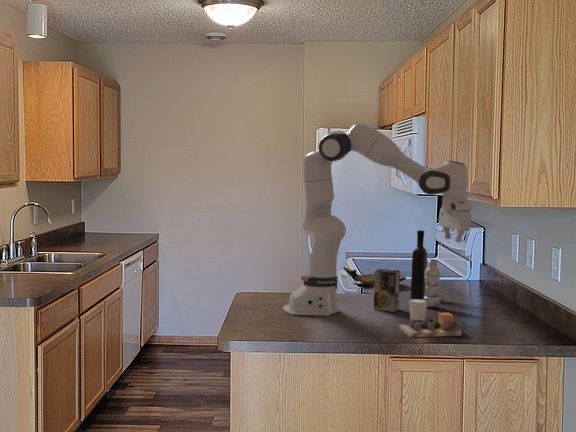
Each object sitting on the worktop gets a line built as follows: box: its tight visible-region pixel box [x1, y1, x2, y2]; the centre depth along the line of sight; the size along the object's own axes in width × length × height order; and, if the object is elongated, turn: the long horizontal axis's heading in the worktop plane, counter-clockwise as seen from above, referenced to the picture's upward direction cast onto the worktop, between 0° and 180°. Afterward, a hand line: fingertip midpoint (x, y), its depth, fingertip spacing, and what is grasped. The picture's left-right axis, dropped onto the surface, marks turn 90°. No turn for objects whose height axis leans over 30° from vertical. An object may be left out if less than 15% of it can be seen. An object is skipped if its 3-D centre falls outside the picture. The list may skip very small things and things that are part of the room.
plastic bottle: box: [422, 259, 441, 309], centre depth 280 cm, size 6×7×20 cm
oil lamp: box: [343, 266, 407, 288], centre depth 327 cm, size 22×30×8 cm
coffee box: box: [373, 268, 401, 313], centre depth 275 cm, size 9×6×16 cm
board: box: [398, 317, 462, 338], centre depth 241 cm, size 20×11×4 cm, turn 101°
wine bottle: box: [410, 229, 428, 300], centre depth 299 cm, size 6×6×30 cm
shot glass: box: [408, 298, 427, 321], centre depth 261 cm, size 7×7×7 cm
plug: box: [412, 311, 454, 329], centre depth 241 cm, size 15×4×5 cm, turn 102°
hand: (453, 240), depth 256 cm, fingers open, 8 cm apart
